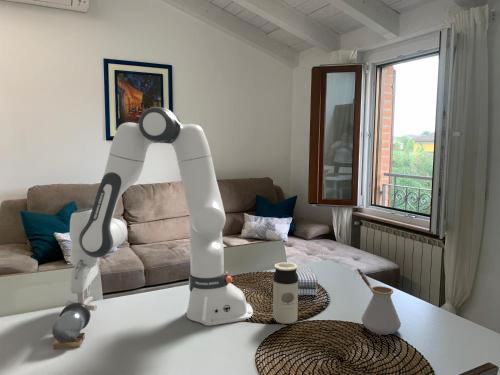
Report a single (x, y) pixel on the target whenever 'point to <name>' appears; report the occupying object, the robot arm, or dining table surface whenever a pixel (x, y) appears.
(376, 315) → the coffee pot
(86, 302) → the beige crossed rods piece
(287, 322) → the travel mug
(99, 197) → the robot arm
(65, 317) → the lidded storage canister
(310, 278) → the towel
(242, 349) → the dining table surface
